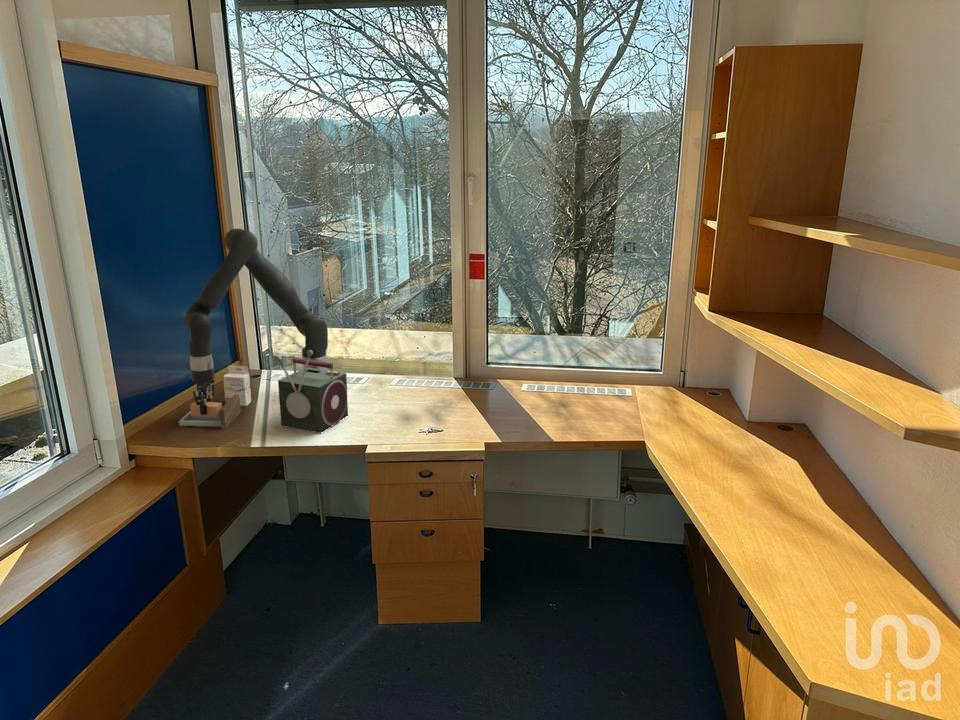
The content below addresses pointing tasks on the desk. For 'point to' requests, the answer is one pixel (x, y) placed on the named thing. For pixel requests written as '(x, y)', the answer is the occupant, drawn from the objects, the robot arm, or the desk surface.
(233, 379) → the ink cartridge box
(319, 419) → the boombox
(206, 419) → the tray
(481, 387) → the desk surface
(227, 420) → the board
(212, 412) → the bar
